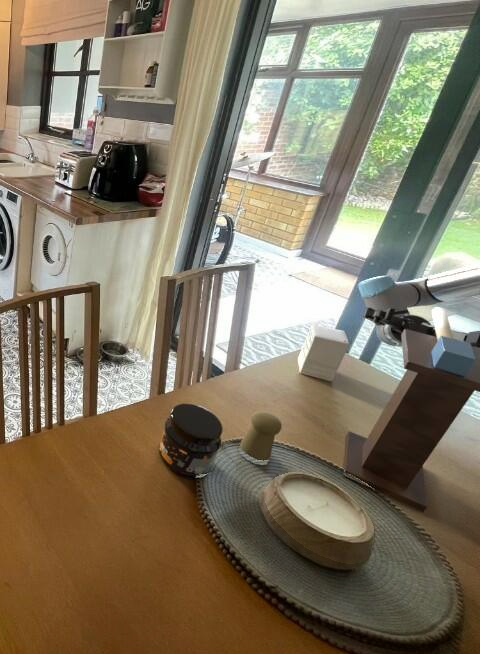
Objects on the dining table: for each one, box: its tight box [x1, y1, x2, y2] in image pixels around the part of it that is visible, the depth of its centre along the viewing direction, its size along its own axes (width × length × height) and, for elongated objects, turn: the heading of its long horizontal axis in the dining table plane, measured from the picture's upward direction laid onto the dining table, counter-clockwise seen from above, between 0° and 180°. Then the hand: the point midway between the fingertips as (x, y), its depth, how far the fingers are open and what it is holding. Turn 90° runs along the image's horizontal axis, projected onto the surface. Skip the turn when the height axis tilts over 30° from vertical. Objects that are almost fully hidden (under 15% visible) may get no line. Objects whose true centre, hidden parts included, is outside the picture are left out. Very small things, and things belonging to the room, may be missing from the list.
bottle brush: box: [431, 306, 476, 376], centre depth 77 cm, size 4×25×4 cm, turn 138°
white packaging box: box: [297, 323, 350, 383], centre depth 113 cm, size 7×7×13 cm
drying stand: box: [342, 329, 480, 513], centre depth 80 cm, size 12×14×30 cm
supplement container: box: [158, 403, 224, 480], centre depth 87 cm, size 10×10×12 cm
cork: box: [239, 410, 282, 461], centre depth 88 cm, size 6×6×11 cm
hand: (434, 325), depth 88 cm, fingers open, 13 cm apart
